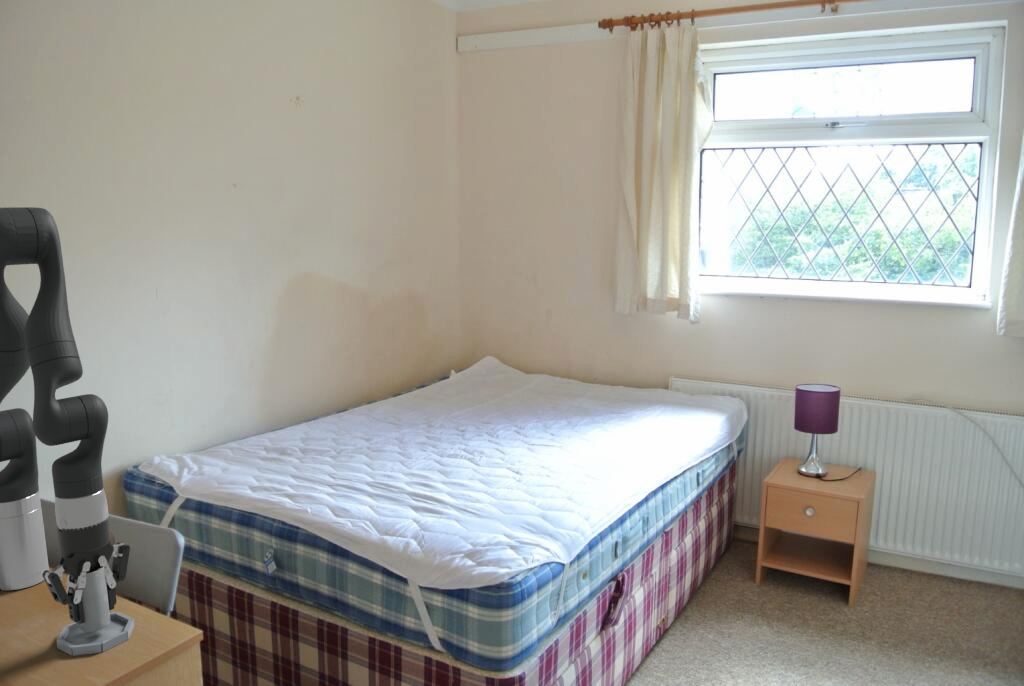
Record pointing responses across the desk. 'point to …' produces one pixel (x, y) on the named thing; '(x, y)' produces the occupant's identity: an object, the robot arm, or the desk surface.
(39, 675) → the desk surface
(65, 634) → the saucer
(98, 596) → the planter
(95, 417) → the robot arm
